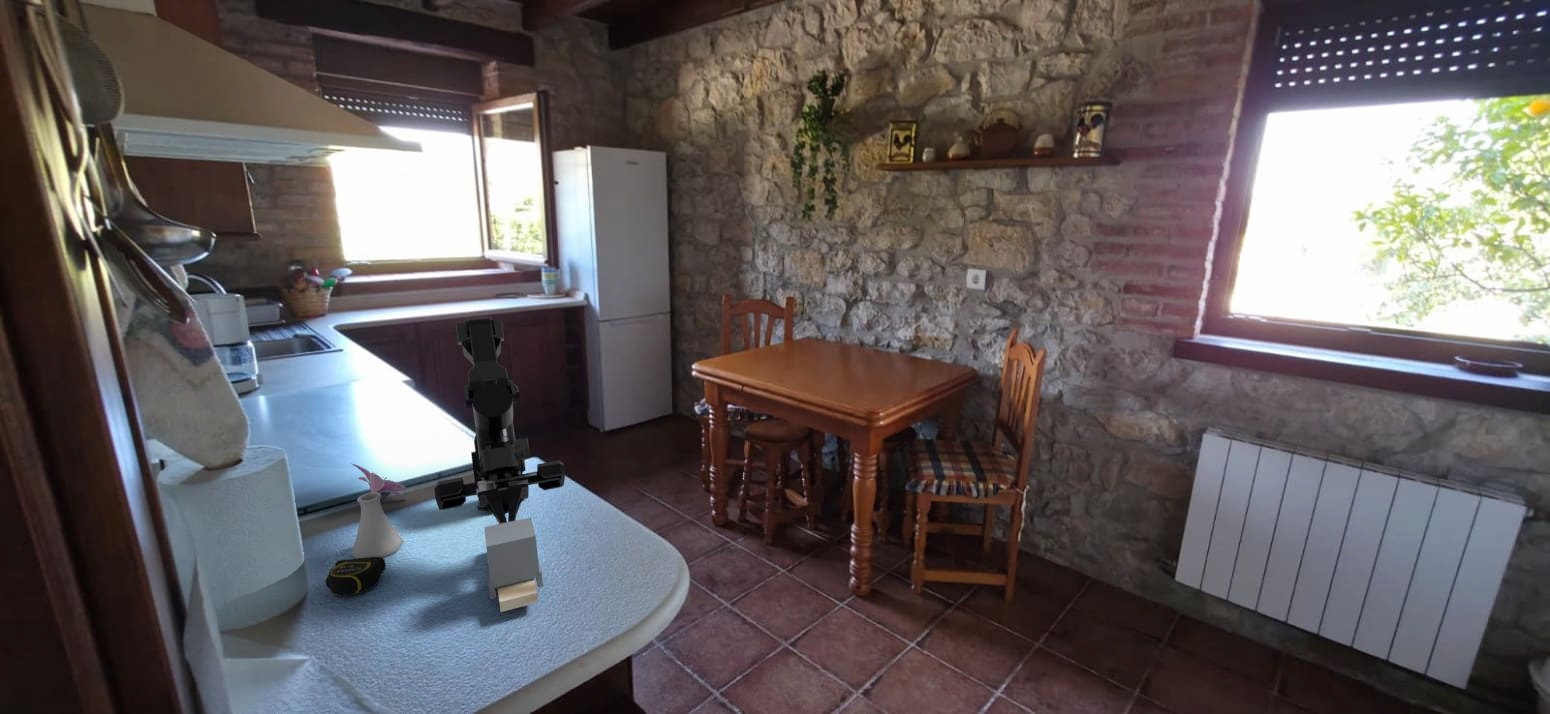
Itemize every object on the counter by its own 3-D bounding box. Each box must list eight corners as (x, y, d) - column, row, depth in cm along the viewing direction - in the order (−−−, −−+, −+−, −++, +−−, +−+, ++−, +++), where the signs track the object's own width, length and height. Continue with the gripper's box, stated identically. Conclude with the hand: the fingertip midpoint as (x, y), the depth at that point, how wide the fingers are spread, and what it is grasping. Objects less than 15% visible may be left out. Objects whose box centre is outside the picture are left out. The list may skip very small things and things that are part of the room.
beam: (493, 550, 107) (491, 534, 106) (524, 543, 109) (523, 527, 108) (501, 621, 90) (499, 602, 89) (539, 611, 92) (537, 592, 91)
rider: (488, 577, 97) (482, 527, 95) (538, 565, 100) (533, 516, 98) (490, 599, 92) (483, 547, 90) (543, 586, 95) (537, 535, 93)
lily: (410, 517, 120) (421, 470, 122) (343, 513, 113) (356, 463, 115) (396, 514, 128) (407, 470, 130) (333, 509, 121) (345, 463, 123)
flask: (379, 564, 103) (370, 509, 101) (342, 559, 105) (331, 504, 102) (413, 541, 110) (404, 488, 107) (377, 536, 111) (368, 484, 109)
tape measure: (389, 572, 101) (386, 551, 100) (371, 598, 95) (367, 576, 94) (342, 576, 100) (338, 555, 99) (320, 603, 94) (316, 581, 93)
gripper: (426, 432, 94) (435, 535, 87) (558, 413, 102) (575, 506, 95) (434, 461, 102) (443, 557, 96) (555, 442, 110) (571, 528, 104)
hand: (509, 536), depth 97 cm, fingers closed, pressing on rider
